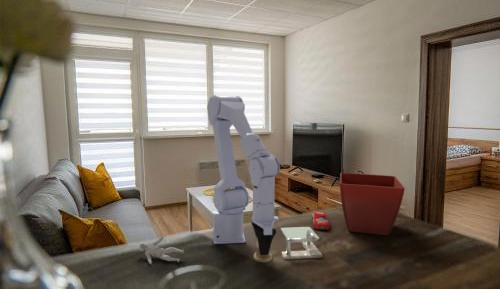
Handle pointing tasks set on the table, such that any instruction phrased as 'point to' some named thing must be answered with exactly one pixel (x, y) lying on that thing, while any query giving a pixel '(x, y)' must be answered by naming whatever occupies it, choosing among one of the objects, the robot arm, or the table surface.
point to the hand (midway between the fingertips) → (262, 251)
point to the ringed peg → (261, 257)
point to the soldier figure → (159, 251)
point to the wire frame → (307, 244)
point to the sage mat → (297, 232)
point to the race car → (320, 221)
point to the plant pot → (370, 202)
